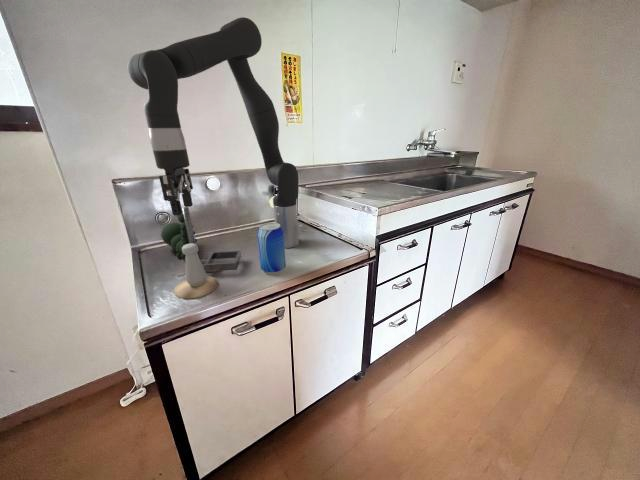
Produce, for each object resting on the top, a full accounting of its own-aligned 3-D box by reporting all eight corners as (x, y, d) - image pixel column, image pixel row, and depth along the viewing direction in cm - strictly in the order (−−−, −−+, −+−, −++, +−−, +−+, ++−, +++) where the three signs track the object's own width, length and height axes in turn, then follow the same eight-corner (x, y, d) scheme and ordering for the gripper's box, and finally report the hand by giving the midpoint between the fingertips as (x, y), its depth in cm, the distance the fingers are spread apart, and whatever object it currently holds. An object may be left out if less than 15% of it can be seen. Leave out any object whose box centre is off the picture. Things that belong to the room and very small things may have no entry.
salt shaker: (211, 279, 83) (203, 241, 78) (201, 289, 78) (193, 249, 73) (193, 278, 84) (185, 240, 79) (183, 288, 79) (173, 248, 74)
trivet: (221, 276, 86) (221, 274, 86) (212, 297, 75) (211, 295, 75) (182, 278, 85) (182, 277, 85) (167, 300, 74) (167, 298, 74)
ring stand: (241, 260, 97) (234, 202, 88) (237, 273, 88) (228, 210, 79) (195, 263, 95) (182, 204, 87) (185, 277, 86) (170, 212, 77)
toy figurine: (207, 262, 99) (183, 239, 115) (200, 215, 91) (175, 197, 107) (181, 270, 93) (159, 245, 109) (171, 221, 85) (148, 201, 101)
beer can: (274, 278, 85) (270, 232, 79) (256, 271, 89) (250, 227, 83) (290, 267, 91) (288, 224, 85) (272, 262, 95) (269, 220, 89)
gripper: (174, 149, 59) (189, 217, 66) (194, 146, 73) (205, 203, 79) (139, 150, 59) (158, 219, 65) (165, 146, 72) (178, 204, 78)
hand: (183, 210), depth 72 cm, fingers open, 8 cm apart
